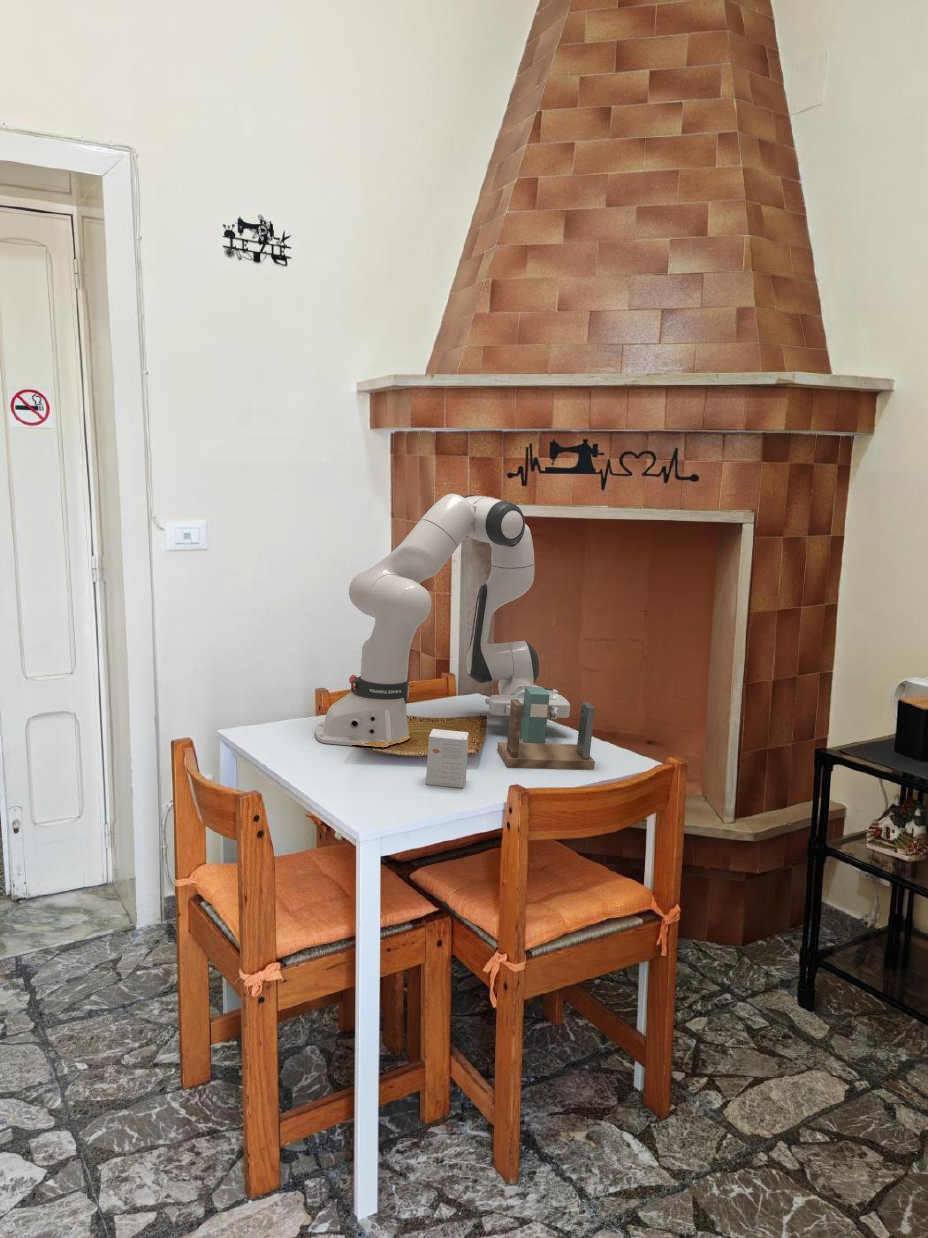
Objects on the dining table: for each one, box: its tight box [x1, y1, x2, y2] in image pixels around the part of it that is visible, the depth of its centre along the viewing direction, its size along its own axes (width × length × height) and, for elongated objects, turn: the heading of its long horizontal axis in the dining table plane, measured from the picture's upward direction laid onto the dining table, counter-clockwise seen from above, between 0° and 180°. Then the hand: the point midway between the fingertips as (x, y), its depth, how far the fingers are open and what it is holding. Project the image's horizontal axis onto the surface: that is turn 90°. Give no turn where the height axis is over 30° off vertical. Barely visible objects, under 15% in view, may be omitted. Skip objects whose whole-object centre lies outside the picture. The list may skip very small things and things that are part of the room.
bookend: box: [576, 701, 595, 760], centre depth 210 cm, size 2×6×12 cm, turn 9°
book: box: [520, 686, 550, 744], centre depth 224 cm, size 4×7×13 cm, turn 8°
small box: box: [425, 728, 470, 789], centre depth 192 cm, size 8×6×10 cm
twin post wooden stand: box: [496, 699, 596, 770], centre depth 211 cm, size 20×12×14 cm, turn 98°
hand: (535, 715), depth 223 cm, fingers open, 8 cm apart
